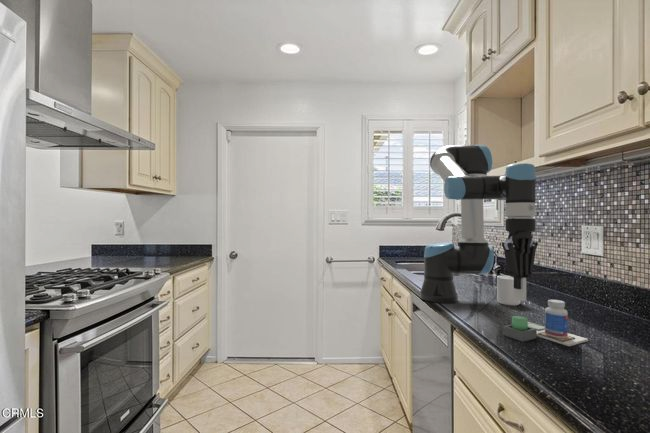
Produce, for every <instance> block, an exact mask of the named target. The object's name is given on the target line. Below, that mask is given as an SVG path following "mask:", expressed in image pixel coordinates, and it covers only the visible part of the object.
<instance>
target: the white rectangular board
mask: <svg viewBox="0 0 650 433" xmlns="http://www.w3.org/2000/svg"><path fill="white" fill-rule="evenodd" d="M528 327H531V328H534V329H537V335H536V337H539V338H541V339H545V340H548V341H552V342H554V343H556V344H560V345H563V346H567V347H572V346H576V345H579V344H581V343H586V342H588V341H589V339H588V338H586V337H582V336H578V335H576V334H572V333H568V336H567V338H555V337H551V336H548V335H546V334H545V325H542V324H538V323H534V322H531V321H528Z"/></svg>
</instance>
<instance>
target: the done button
mask: <svg viewBox="0 0 650 433" xmlns="http://www.w3.org/2000/svg"><path fill="white" fill-rule="evenodd" d="M528 319H529V318H527V317H525V316H521V315H512V316H511V324H512V328H514V329H517V330H520V331H525V330H528V322H529V320H528Z"/></svg>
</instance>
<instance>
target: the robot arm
mask: <svg viewBox="0 0 650 433" xmlns="http://www.w3.org/2000/svg"><path fill="white" fill-rule="evenodd" d="M429 166H430V169H431V170H432V171H433V173H434V174H436V175H438V176H440V178H441V179H442V180H443V182H444V186H443V191H444V197H445V198H446V199H448V200H456V201H460V206H461V207H460V216H461V218H460V219H461V220H460V221H461V222H460V223H461V224H460V225H461V226H460V228H461V229H460V230H461V237H460V239H459V240H458V241H457V245H455V244H454V243H453V242H450V241H449V242H448V241H447V242H436V243H430V244H427V245H426V246H425V247H424V254H423V258H424V259H423V264H424V265H423V269H424V271H423V275H424V277H423V278H424V279H423V282H422V286H421V289H420V291H419V298H420V299H421V300H423V301H426V302H431V303H439V304H441V303H442V304H450V303H456V302H458V300H459V296H458V292H457V291H456V289H457V288H456V285H455V283H454V282H455V281H454V275H475V276H479V275H487V274H489V273H490V272H491V270H492V268H493V266H494V262H495V252H494V249H493V247H492V246H490V245H489V241H488V240H486V238H485V234H484V233H485V227H484V224H485V222H484V219H485V218H484V217H485V216H484V200H497V201H505V206H504V207H505V214H504V215H505V217H506V219H505V228H504V229H505V231H506V232H508V237H507V241H505V242H502V243H501V247H502V249H503V252H504V258H505V263H506V269H507V276H511V277H513V278H514V299H515V300H519V301H520V302H527V285H528V284H527V281H528V279H529V278H530V279H531V277H532V274H533V269H534V264H535V257H536V253H537V252H536V251H537V248H538V245H539V242H538V241H534V240H533V234H532V233H534V232H536V228H537V227H536V219H535V218H534V217H536V210H537V208H536V186H537V185H536V183H537V180H536V179H537V176H536V167H535V165H534V164H532V163H514V164H513V163H512V164H508V165H507V166H506V167H505V173H504V175H488V173H490V172H491V171H492V167H493V156H492V152H491V150H490V149H489V147H488V146H487V145H483V144H460V145H459V144H455V145H453V144H452V145H451V144H450V145H445V146H442V147H440V148H438V149H437V150H436V151H434V152H433V154H432V155H431V157H430V159H429Z"/></svg>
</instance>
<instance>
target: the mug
mask: <svg viewBox="0 0 650 433" xmlns="http://www.w3.org/2000/svg"><path fill="white" fill-rule="evenodd" d="M496 277H497V278H496V301H497V302H498V303H499V304H501V305H506V306H519V305H520V304H521V301H519V300H515V299H514V278H513V277H511V276H510V275H497V276H496Z"/></svg>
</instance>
